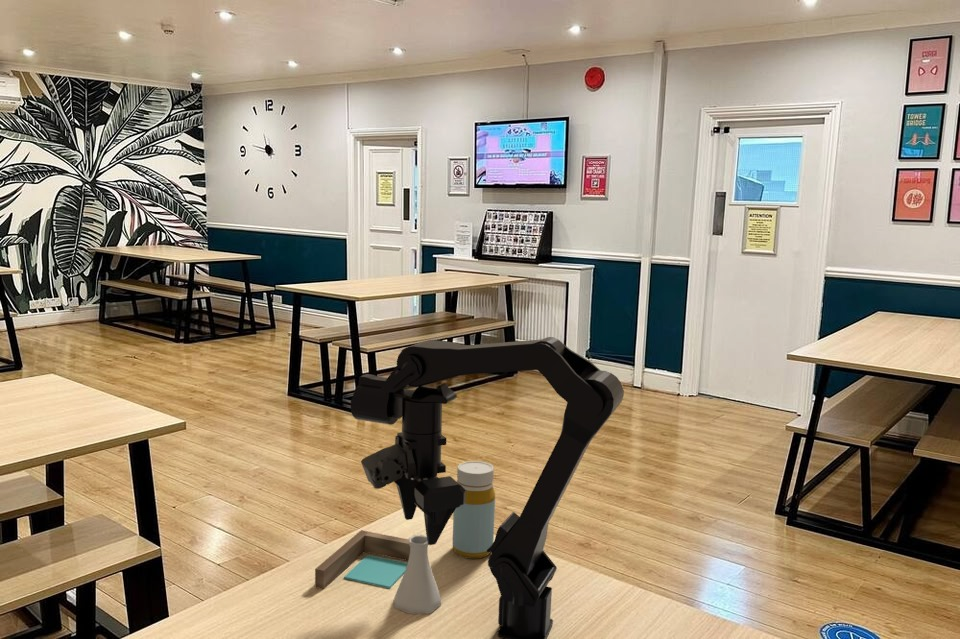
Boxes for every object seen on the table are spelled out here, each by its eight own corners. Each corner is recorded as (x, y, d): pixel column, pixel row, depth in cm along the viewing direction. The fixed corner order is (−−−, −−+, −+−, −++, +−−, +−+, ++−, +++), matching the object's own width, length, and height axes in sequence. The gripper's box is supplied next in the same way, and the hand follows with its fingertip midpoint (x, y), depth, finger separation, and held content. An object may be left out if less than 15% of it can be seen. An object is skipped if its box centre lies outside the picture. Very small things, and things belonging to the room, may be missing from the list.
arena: (420, 558, 123) (421, 541, 123) (381, 602, 109) (381, 583, 109) (360, 546, 127) (361, 530, 126) (315, 587, 113) (315, 568, 113)
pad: (411, 565, 121) (411, 563, 121) (390, 588, 113) (390, 586, 113) (367, 556, 123) (367, 554, 123) (344, 578, 116) (344, 576, 116)
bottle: (446, 545, 129) (448, 462, 126) (482, 538, 132) (485, 458, 129) (462, 563, 122) (465, 476, 120) (499, 555, 125) (503, 471, 123)
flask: (434, 619, 106) (436, 553, 104) (386, 611, 107) (387, 547, 105) (447, 593, 113) (448, 532, 111) (401, 587, 114) (403, 526, 112)
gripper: (348, 417, 110) (348, 515, 113) (389, 455, 94) (388, 570, 96) (418, 410, 115) (416, 504, 118) (468, 445, 99) (465, 554, 101)
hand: (419, 531), depth 108 cm, fingers open, 9 cm apart
